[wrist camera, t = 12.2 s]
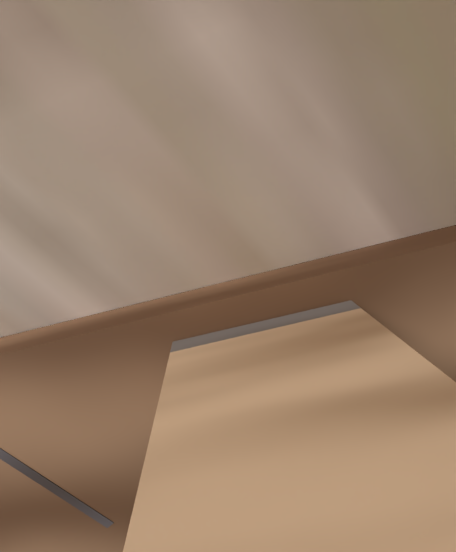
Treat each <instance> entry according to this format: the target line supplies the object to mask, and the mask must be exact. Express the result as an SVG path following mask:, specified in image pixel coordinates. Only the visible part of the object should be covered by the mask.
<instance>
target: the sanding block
mask: <svg viewBox="0 0 456 552" xmlns="http://www.w3.org/2000/svg"><path fill="white" fill-rule="evenodd" d="M123 552H456V382H455V381H454V380H452V379H451V378H450V377H448V376H447V375H446V374H445V373H443V372H442V371H441V370H439V369H438V368H437V367H436V366H434V365H433V364H432V363H431V362H429V361H428V360H427V359H425V358H424V357H423V356H422V355H420V354H419V353H418V352H416V351H415V350H414V349H413V348H411V347H410V346H409V345H408V344H406V343H405V342H404V341H402V340H401V339H400V338H399V337H397V336H396V335H395V334H393V333H392V332H391V331H390V330H388V329H387V328H386V327H385V326H383V325H382V324H381V323H379V322H378V321H377V320H376V319H374V318H373V317H372V316H370V315H369V314H368V313H367V312H365V311H364V310H363V309H362V308H360V307H359V306H358V305H356V304H355V303H354V302H353V301H351V300H350V301H345V302H341V303H337V304H333V305H328V306H324V307H320V308H315V309H311V310H307V311H302V312H298V313H294V314H290V315H285V316H281V317H277V318H272V319H268V320H264V321H260V322H255V323H251V324H247V325H242V326H238V327H234V328H229V329H225V330H221V331H217V332H212V333H208V334H204V335H199V336H195V337H191V338H187V339H182V340H178V341H174V342H172V346H171V350H170V355H169V359H168V363H167V367H166V372H165V376H164V380H163V384H162V388H161V393H160V397H159V401H158V405H157V410H156V414H155V418H154V422H153V426H152V431H151V435H150V439H149V443H148V448H147V452H146V456H145V460H144V465H143V469H142V473H141V477H140V481H139V486H138V490H137V494H136V498H135V503H134V507H133V511H132V515H131V519H130V524H129V528H128V532H127V536H126V541H125V545H124V549H123Z"/></svg>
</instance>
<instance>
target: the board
mask: <svg viewBox="0 0 456 552" xmlns="http://www.w3.org/2000/svg"><path fill="white" fill-rule="evenodd" d="M350 300H351V301H353V302H354V303H355V304H356V305H358V306H359V307H360V308H362V309H363V310H364V311H365V312H367V313H368V314H369V315H370V316H372V317H373V318H374V319H376V320H377V321H378V322H379V323H381V324H382V325H383V326H385V327H386V328H387V329H388V330H390V331H391V332H392V333H393V334H395V335H396V336H397V337H399V338H400V339H401V340H402V341H404V342H405V343H406V344H408V345H409V346H410V347H411V348H413V349H414V350H415V351H416V352H418V353H419V354H420V355H422V356H423V357H424V358H425V359H427V360H428V361H429V362H431V363H432V364H433V365H434V366H436V367H437V368H438V369H439V370H441V371H442V372H443V373H445V374H446V375H447V376H448V377H450V378H451V379H452V380H454V381H455V382H456V225H454V226H450V227H446V228H442V229H437V230H433V231H429V232H425V233H421V234H417V235H413V236H409V237H405V238H401V239H397V240H393V241H389V242H385V243H381V244H377V245H373V246H369V247H365V248H361V249H357V250H353V251H349V252H345V253H341V254H337V255H332V256H328V257H324V258H320V259H316V260H312V261H308V262H304V263H300V264H296V265H292V266H288V267H284V268H280V269H276V270H272V271H268V272H264V273H260V274H256V275H252V276H248V277H244V278H240V279H236V280H232V281H228V282H223V283H219V284H215V285H211V286H207V287H203V288H199V289H195V290H191V291H187V292H183V293H179V294H175V295H171V296H167V297H163V298H159V299H155V300H151V301H147V302H143V303H139V304H135V305H131V306H127V307H123V308H118V309H114V310H110V311H106V312H102V313H98V314H94V315H90V316H86V317H82V318H78V319H74V320H70V321H66V322H62V323H58V324H54V325H50V326H46V327H42V328H38V329H34V330H30V331H26V332H22V333H18V334H13V335H9V336H5V337H1V338H0V552H123V549H124V545H125V541H126V536H127V532H128V528H129V524H130V519H131V515H132V511H133V507H134V503H135V498H136V494H137V490H138V486H139V481H140V477H141V473H142V469H143V465H144V460H145V456H146V452H147V448H148V443H149V439H150V435H151V431H152V426H153V422H154V418H155V414H156V410H157V405H158V401H159V397H160V393H161V388H162V384H163V380H164V376H165V372H166V367H167V363H168V359H169V355H170V350H171V346H172V342H174V341H178V340H182V339H187V338H191V337H195V336H199V335H204V334H208V333H212V332H217V331H221V330H225V329H229V328H234V327H238V326H242V325H247V324H251V323H255V322H260V321H264V320H268V319H272V318H277V317H281V316H285V315H290V314H294V313H298V312H302V311H307V310H311V309H315V308H320V307H324V306H328V305H333V304H337V303H341V302H345V301H350Z"/></svg>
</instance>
